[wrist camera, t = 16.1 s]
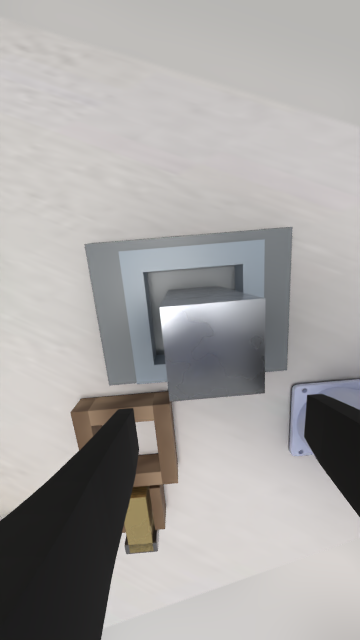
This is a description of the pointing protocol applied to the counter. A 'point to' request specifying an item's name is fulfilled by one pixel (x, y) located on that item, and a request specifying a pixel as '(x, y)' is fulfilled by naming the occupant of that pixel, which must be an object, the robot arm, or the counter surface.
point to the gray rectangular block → (213, 342)
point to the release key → (140, 523)
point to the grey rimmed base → (178, 273)
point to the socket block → (149, 467)
